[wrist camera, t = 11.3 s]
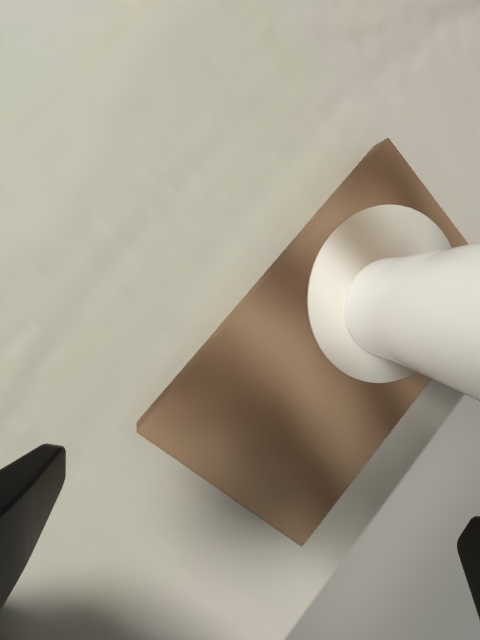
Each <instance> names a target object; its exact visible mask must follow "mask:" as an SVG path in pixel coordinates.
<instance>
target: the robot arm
mask: <svg viewBox="0 0 480 640" xmlns="http://www.w3.org/2000/svg"><path fill="white" fill-rule="evenodd" d="M65 472H66V451H65V448H64V447H63V446H59V445H53V444H43V445H40V446H39V447H37V448H35V449H34V450H32V451H30V452H29V453H27V454H25V455H24V456H22V457H21V458H19V459H17V460H16V461H14V462H12V463H11V464H9V465H7V466H6V467H4V468H2V469H1V470H0V610H1V609H2V607H3V605H4V603H5V602H6V600H7V598H8V596H9V595H10V593H11V591H12V590H13V588H14V586H15V584H16V583H17V581H18V579H19V577H20V575H21V574H22V572H23V570H24V568H25V566H26V564H27V562H28V560H29V558H30V556H31V554H32V552H33V550H34V548H35V545H36V543H37V541H38V539H39V537H40V535H41V532H42V530H43V528H44V526H45V524H46V522H47V519H48V517H49V515H50V513H51V511H52V508H53V506H54V504H55V502H56V500H57V498H58V495H59V493H60V491H61V489H62V486H63V484H64V480H65ZM457 549H458V554H459V557H460V560H461V563H462V566H463V569H464V572H465V575H466V579H467V582H468V584H469V588H470V591H471V594H472V597H473V600H474V603H475V606H476V610H477V613H478V616H479V619H480V516H475V517H473V518H472V519H471V520H470V521H469V523H468V525H467V526H466V528H465V529H464V531H463V532H462V534H461V536H460V537H459V539H458V542H457Z"/></svg>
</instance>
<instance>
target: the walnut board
mask: <svg viewBox="0 0 480 640" xmlns="http://www.w3.org/2000/svg"><path fill="white" fill-rule="evenodd" d="M463 245H468V243H467V242H466V240H465V239H464V238H463V236H462V235H461V234H460V232H459V231H458V230H457V228H456V227H455V226H454V224H453V223H452V222H451V220H450V219H449V218H448V216H447V215H446V214H445V212H444V211H443V210H442V208H441V207H440V206H439V204H438V203H437V202H436V200H435V199H434V198H433V197H432V195H431V194H430V193H429V191H428V190H427V189H426V187H425V186H424V185H423V183H422V182H421V181H420V179H419V178H418V177H417V175H416V174H415V173H414V171H413V170H412V169H411V167H410V166H409V165H408V163H407V162H406V161H405V159H404V158H403V157H402V155H401V154H400V153H399V151H398V150H397V149H396V147H395V146H394V145H393V143H392V142H391V141H390V139H389V138H387V139H385V140H384V141H382V142H380V143H378V144H377V145H375V146H374V147H373V148H372V149H371V150H370V151H369V152H368V154H367V155H366V156H365V157H364V158H363V159H362V161H361V162H360V163H359V164H358V165H357V166H356V168H355V169H354V170H353V171H352V172H351V173H350V175H349V176H348V177H347V178H346V179H345V180H344V182H343V183H342V184H341V185H340V186H339V187H338V189H337V190H336V191H335V192H334V193H333V194H332V196H331V197H330V198H329V199H328V200H327V201H326V203H325V204H324V205H323V206H322V207H321V208H320V210H319V211H318V212H317V213H316V214H315V215H314V217H313V218H312V219H311V220H310V221H309V222H308V224H307V225H306V226H305V227H304V228H303V229H302V231H301V232H300V233H299V234H298V235H297V236H296V238H295V239H294V240H293V241H292V242H291V243H290V244H289V246H288V247H287V248H286V249H285V250H284V251H283V253H282V254H281V255H280V256H279V257H278V258H277V260H276V261H275V262H274V263H273V264H272V265H271V267H270V268H269V269H268V270H267V271H266V272H265V274H264V275H263V276H262V277H261V278H260V279H259V281H258V282H257V283H256V284H255V285H254V286H253V288H252V289H251V290H250V291H249V292H248V293H247V295H246V296H245V297H244V298H243V299H242V300H241V302H240V303H239V304H238V305H237V306H236V307H235V309H234V310H233V311H232V312H231V313H230V314H229V316H228V317H227V318H226V319H225V320H224V321H223V323H222V324H221V325H220V326H219V327H218V328H217V330H216V331H215V332H214V333H213V334H212V335H211V337H210V338H209V339H208V340H207V341H206V342H205V344H204V345H203V346H202V347H201V348H200V349H199V351H198V352H197V353H196V354H195V355H194V356H193V358H192V359H191V360H190V361H189V362H188V363H187V365H186V366H185V367H184V368H183V369H182V370H181V372H180V373H179V374H178V375H177V376H176V377H175V379H174V380H173V381H172V382H171V383H170V384H169V386H168V387H167V388H166V389H165V390H164V391H163V393H162V394H161V395H160V396H159V397H158V398H157V400H156V401H155V402H154V403H153V404H152V405H151V407H150V408H149V409H148V410H147V411H146V412H145V414H144V415H143V416H142V417H141V418H140V419H139V421H138V422H137V433H138V434H140V435H141V436H143V437H144V438H146V439H147V440H149V441H150V442H151V443H153V444H154V445H156V446H157V447H159V448H160V449H162V450H163V451H164V452H166V453H167V454H169V455H170V456H172V457H173V458H175V459H176V460H177V461H179V462H180V463H182V464H183V465H185V466H186V467H188V468H189V469H190V470H192V471H193V472H195V473H196V474H198V475H199V476H201V477H202V478H203V479H205V480H206V481H208V482H209V483H211V484H212V485H214V486H215V487H216V488H218V489H219V490H221V491H222V492H224V493H225V494H227V495H228V496H229V497H231V498H232V499H234V500H235V501H237V502H238V503H239V504H241V505H242V506H244V507H245V508H247V509H248V510H250V511H251V512H252V513H254V514H255V515H257V516H258V517H260V518H261V519H263V520H264V521H265V522H267V523H268V524H270V525H271V526H273V527H274V528H276V529H277V530H278V531H280V532H281V533H283V534H284V535H286V536H287V537H289V538H290V539H291V540H293V541H294V542H296V543H297V544H299V545H300V546H303V545H304V543H305V542H306V541H307V539H308V538H309V537H310V535H311V534H312V533H313V532H314V530H315V529H316V528H317V526H318V525H319V524H320V522H321V521H322V520H323V519H324V517H325V516H326V515H327V513H328V512H329V511H330V509H331V508H332V507H333V506H334V504H335V503H336V502H337V500H338V499H339V498H340V496H341V495H342V494H343V493H344V491H345V490H346V489H347V487H348V486H349V485H350V483H351V482H352V481H353V480H354V478H355V477H356V476H357V474H358V473H359V472H360V470H361V469H362V468H363V467H364V465H365V464H366V463H367V461H368V460H369V459H370V457H371V456H372V455H373V454H374V452H375V451H376V450H377V448H378V447H379V446H380V444H381V443H382V442H383V441H384V439H385V438H386V437H387V435H388V434H389V433H390V431H391V430H392V429H393V428H394V426H395V425H396V424H397V422H398V421H399V420H400V418H401V417H402V416H403V415H404V413H405V412H406V411H407V409H408V408H409V407H410V405H411V404H412V403H413V402H414V400H415V399H416V398H417V396H418V395H419V394H420V392H421V391H422V390H423V389H424V387H425V386H426V385H427V383H428V382H429V381H430V379H431V378H429V377H427V376H425V375H423V374H421V373H418V372H416V371H414V370H412V369H410V368H407V367H405V366H403V365H401V364H398V363H396V362H394V361H391V360H389V359H386V358H382V357H379V356H377V355H374V354H371V353H369V352H367V351H365V350H364V349H362V348H361V347H360V346H359V345H358V344H357V343H356V342H355V341H354V340H353V339H352V337H351V335H350V334H349V332H348V329H347V327H346V324H345V319H344V301H345V296H346V293H347V290H348V288H349V285H350V284H351V282H352V280H353V279H354V277H355V276H356V275H357V274H358V273H359V272H360V271H361V270H362V269H363V268H364V267H365V266H367V265H368V264H370V263H372V262H374V261H377V260H379V259H383V258H389V257H400V256H410V255H416V254H421V253H426V252H432V251H437V250H442V249H448V248H453V247H458V246H463Z"/></svg>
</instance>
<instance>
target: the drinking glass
mask: <svg viewBox="0 0 480 640" xmlns="http://www.w3.org/2000/svg"><path fill="white" fill-rule="evenodd" d="M344 319H345V324H346V327H347V329H348V332H349V334H350V335H351V337H352V339H353V340H354V341H355V342H356V343H357V344H358V345H359V346H360V347H361V348H362V349H364V350H365V351H367V352H369V353H371V354H374V355H377V356H379V357H382V358H386V359H389V360H391V361H394V362H396V363H398V364H401V365H403V366H405V367H407V368H410V369H412V370H414V371H416V372H418V373H421V374H423V375H425V376H427V377H429V378H432V379H434V380H436V381H438V382H440V383H443V384H445V385H447V386H449V387H451V388H454V389H456V390H458V391H460V392H462V393H464V394H467V395H469V396H471V397H473V398H475V399H477V400H480V242H478V243H473V244H468V245H463V246H458V247H453V248H448V249H442V250H437V251H432V252H426V253H421V254H416V255H410V256H400V257H389V258H383V259H379V260H377V261H374V262H372V263H370V264H368V265H367V266H365V267H364V268H363V269H362V270H361V271H360V272H359V273H358V274H357V275H356V276H355V277H354V279H353V280H352V282H351V284H350V285H349V288H348V290H347V293H346V296H345V301H344Z"/></svg>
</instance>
